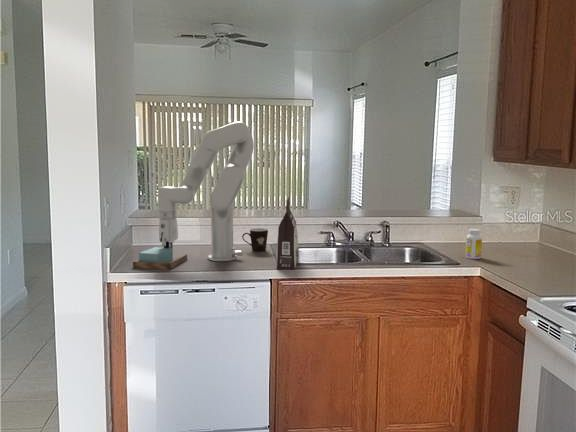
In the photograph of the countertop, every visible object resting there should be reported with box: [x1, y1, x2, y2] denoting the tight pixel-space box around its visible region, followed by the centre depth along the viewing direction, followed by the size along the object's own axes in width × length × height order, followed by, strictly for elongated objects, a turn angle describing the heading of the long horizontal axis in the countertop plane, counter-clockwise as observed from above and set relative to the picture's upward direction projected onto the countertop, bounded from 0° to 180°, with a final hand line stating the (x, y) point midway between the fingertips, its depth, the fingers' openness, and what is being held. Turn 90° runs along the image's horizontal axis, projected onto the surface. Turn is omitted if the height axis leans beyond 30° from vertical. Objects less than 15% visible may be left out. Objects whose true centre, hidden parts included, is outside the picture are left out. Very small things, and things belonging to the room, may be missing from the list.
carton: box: [138, 246, 174, 263], centre depth 219 cm, size 8×12×6 cm
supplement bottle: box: [465, 228, 483, 260], centre depth 234 cm, size 7×7×13 cm
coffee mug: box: [241, 227, 269, 253], centre depth 247 cm, size 12×9×10 cm
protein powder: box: [275, 196, 299, 270], centre depth 218 cm, size 16×9×28 cm, turn 177°
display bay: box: [132, 253, 188, 271], centre depth 219 cm, size 16×18×2 cm
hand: (168, 257), depth 227 cm, fingers closed
